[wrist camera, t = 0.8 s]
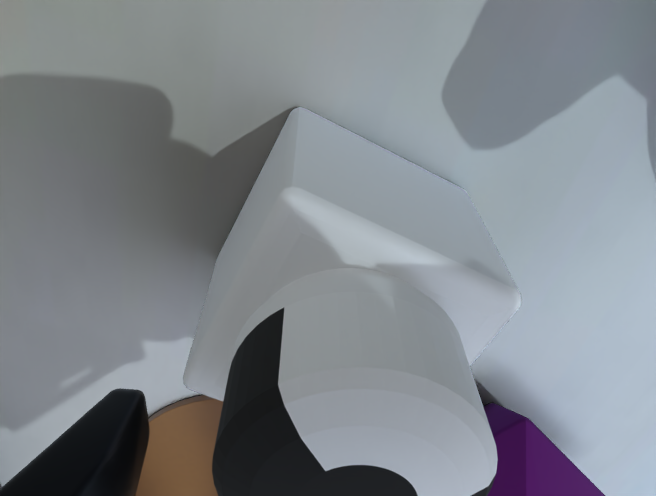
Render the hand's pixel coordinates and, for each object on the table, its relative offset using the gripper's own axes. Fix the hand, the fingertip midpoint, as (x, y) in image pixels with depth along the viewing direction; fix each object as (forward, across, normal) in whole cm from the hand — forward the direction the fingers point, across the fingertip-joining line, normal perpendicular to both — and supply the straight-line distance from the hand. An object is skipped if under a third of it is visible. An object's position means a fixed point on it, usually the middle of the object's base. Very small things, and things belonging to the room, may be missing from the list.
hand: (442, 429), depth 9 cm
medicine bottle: (+13, +2, +4) cm, 14 cm away
